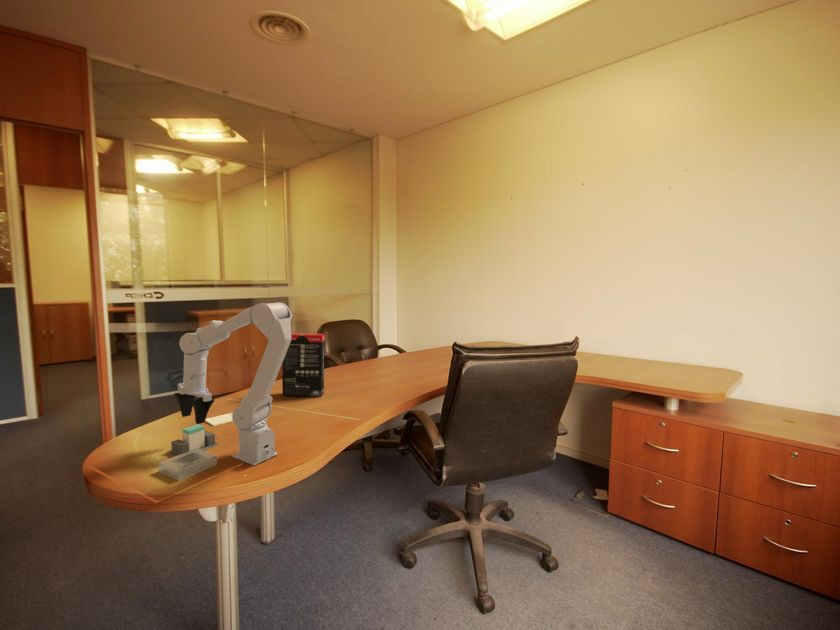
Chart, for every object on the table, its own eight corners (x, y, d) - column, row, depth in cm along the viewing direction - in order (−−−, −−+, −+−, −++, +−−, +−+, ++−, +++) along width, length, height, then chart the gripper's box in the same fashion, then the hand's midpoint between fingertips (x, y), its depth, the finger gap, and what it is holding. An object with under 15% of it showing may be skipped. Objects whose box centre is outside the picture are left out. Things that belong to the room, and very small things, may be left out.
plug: (204, 446, 114) (204, 426, 113) (189, 451, 110) (188, 431, 109) (198, 443, 115) (197, 424, 115) (182, 449, 111) (182, 429, 111)
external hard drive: (202, 423, 134) (238, 414, 144) (213, 429, 129) (249, 419, 139) (202, 419, 134) (238, 410, 144) (212, 424, 129) (249, 415, 139)
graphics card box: (325, 392, 173) (325, 332, 171) (322, 397, 166) (322, 334, 164) (286, 392, 172) (285, 332, 170) (281, 397, 165) (281, 334, 163)
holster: (220, 445, 115) (220, 434, 115) (182, 459, 106) (182, 447, 105) (203, 440, 119) (203, 429, 119) (166, 453, 110) (165, 441, 109)
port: (217, 466, 103) (216, 455, 102) (178, 482, 94) (178, 470, 94) (197, 458, 107) (197, 448, 106) (159, 473, 98) (158, 462, 98)
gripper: (167, 370, 111) (165, 416, 113) (194, 381, 104) (192, 430, 105) (192, 367, 117) (190, 410, 118) (219, 377, 110) (217, 423, 111)
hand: (193, 419), depth 112 cm, fingers open, 7 cm apart
